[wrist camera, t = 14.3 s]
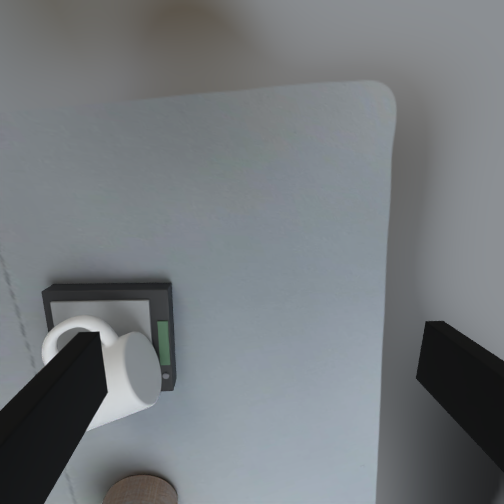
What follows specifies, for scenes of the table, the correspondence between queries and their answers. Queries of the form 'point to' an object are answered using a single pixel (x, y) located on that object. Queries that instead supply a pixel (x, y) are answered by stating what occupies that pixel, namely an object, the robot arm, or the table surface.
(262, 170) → the table surface
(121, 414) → the mug
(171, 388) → the scale
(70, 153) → the table surface
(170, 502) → the planter
